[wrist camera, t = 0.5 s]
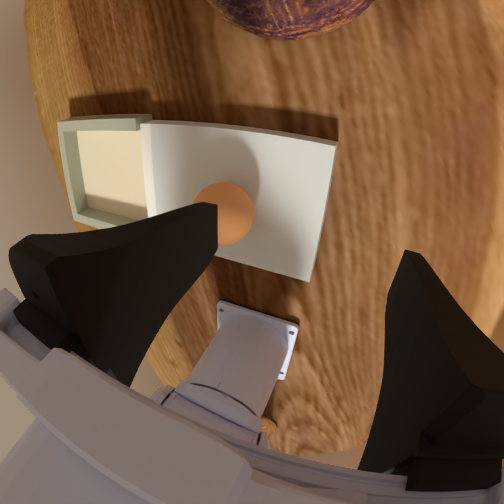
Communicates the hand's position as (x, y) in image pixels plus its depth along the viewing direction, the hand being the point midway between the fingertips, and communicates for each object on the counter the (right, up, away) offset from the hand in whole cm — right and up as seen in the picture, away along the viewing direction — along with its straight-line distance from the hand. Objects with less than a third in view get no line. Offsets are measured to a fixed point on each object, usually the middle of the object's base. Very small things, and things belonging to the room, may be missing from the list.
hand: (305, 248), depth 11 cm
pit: (-15, +7, +14) cm, 22 cm away
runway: (-3, +4, +11) cm, 12 cm away
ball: (-4, +2, +8) cm, 9 cm away
